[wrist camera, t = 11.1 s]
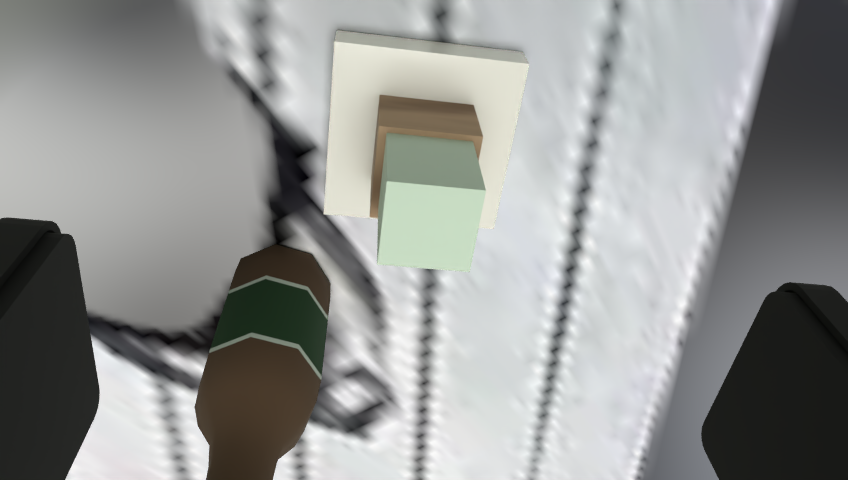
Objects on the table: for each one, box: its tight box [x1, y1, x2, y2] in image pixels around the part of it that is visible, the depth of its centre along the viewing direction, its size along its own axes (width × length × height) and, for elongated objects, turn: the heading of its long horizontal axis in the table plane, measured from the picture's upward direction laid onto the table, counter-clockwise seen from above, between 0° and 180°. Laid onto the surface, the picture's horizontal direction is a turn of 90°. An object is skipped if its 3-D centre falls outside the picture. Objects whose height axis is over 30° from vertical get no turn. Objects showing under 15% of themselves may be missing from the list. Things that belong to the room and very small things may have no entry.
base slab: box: [324, 30, 529, 229], centre depth 46 cm, size 12×12×2 cm
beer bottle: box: [195, 244, 330, 480], centre depth 43 cm, size 8×8×24 cm
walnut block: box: [370, 95, 483, 218], centre depth 42 cm, size 6×6×5 cm
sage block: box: [377, 133, 486, 272], centre depth 38 cm, size 5×5×6 cm
